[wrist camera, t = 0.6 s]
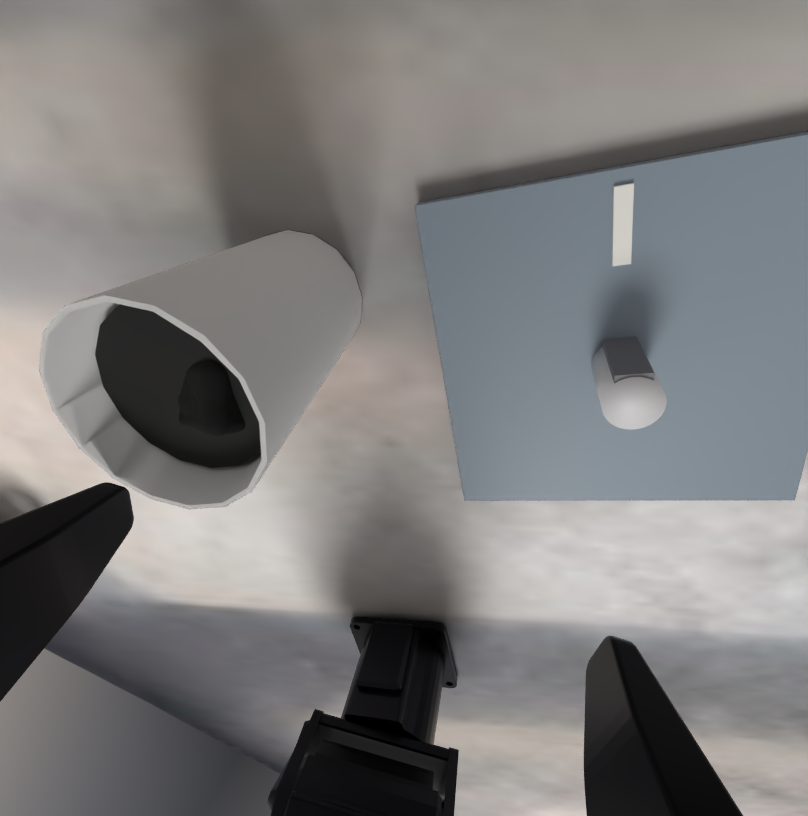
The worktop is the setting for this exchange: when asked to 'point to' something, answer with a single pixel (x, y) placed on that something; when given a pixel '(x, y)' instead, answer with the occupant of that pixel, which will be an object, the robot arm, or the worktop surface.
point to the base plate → (628, 328)
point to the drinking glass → (201, 365)
